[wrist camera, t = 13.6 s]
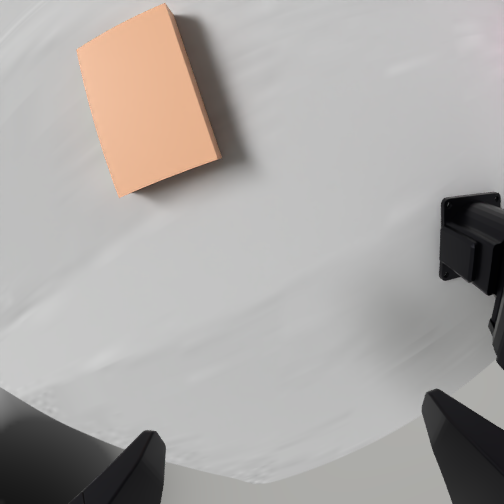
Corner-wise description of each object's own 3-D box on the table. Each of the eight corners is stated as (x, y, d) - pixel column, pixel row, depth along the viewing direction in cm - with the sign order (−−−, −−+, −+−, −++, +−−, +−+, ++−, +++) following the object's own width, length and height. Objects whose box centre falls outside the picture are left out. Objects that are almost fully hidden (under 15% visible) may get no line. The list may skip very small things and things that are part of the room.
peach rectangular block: (223, 157, 18) (175, 17, 15) (217, 159, 16) (164, 3, 12) (134, 191, 19) (93, 57, 16) (119, 197, 17) (76, 49, 13)
